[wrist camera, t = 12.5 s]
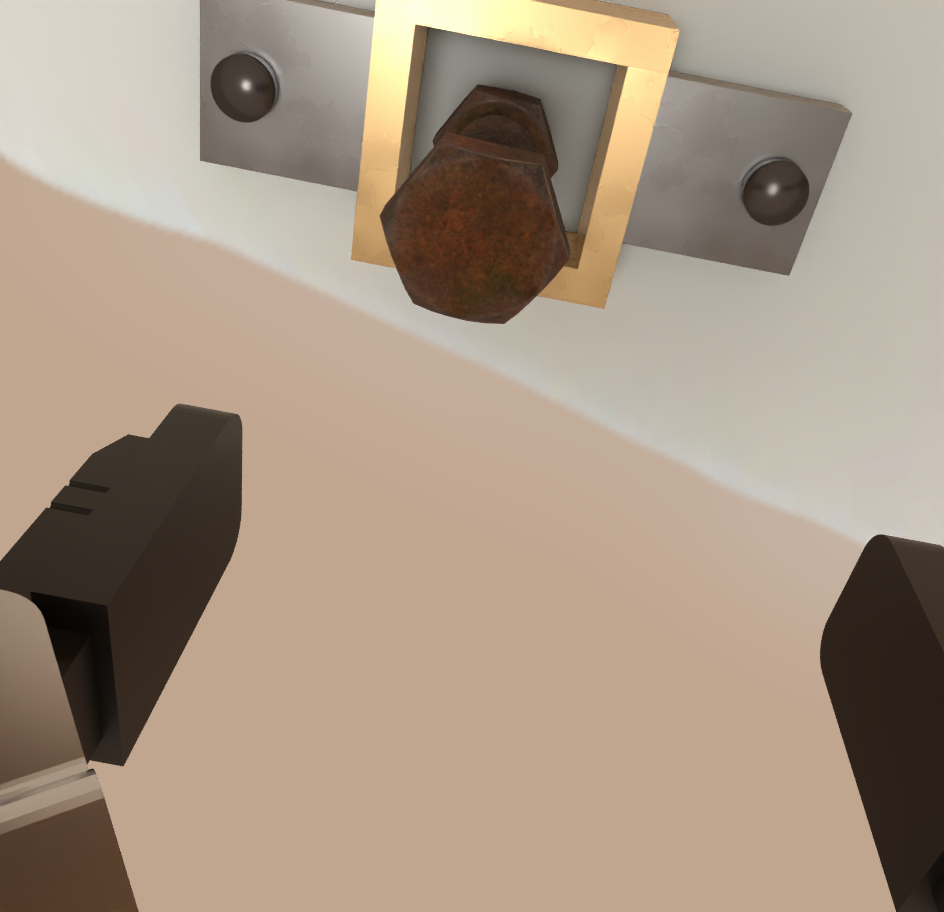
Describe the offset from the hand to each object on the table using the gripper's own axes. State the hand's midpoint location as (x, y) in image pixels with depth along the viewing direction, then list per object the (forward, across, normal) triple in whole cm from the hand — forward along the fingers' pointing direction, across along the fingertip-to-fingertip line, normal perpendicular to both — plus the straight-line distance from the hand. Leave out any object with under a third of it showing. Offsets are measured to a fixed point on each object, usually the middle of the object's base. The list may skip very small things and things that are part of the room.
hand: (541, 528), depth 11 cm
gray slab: (+31, +11, +2) cm, 33 cm away
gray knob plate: (+31, -7, +2) cm, 32 cm away
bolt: (+31, +2, +2) cm, 31 cm away
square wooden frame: (+31, +2, +2) cm, 31 cm away
